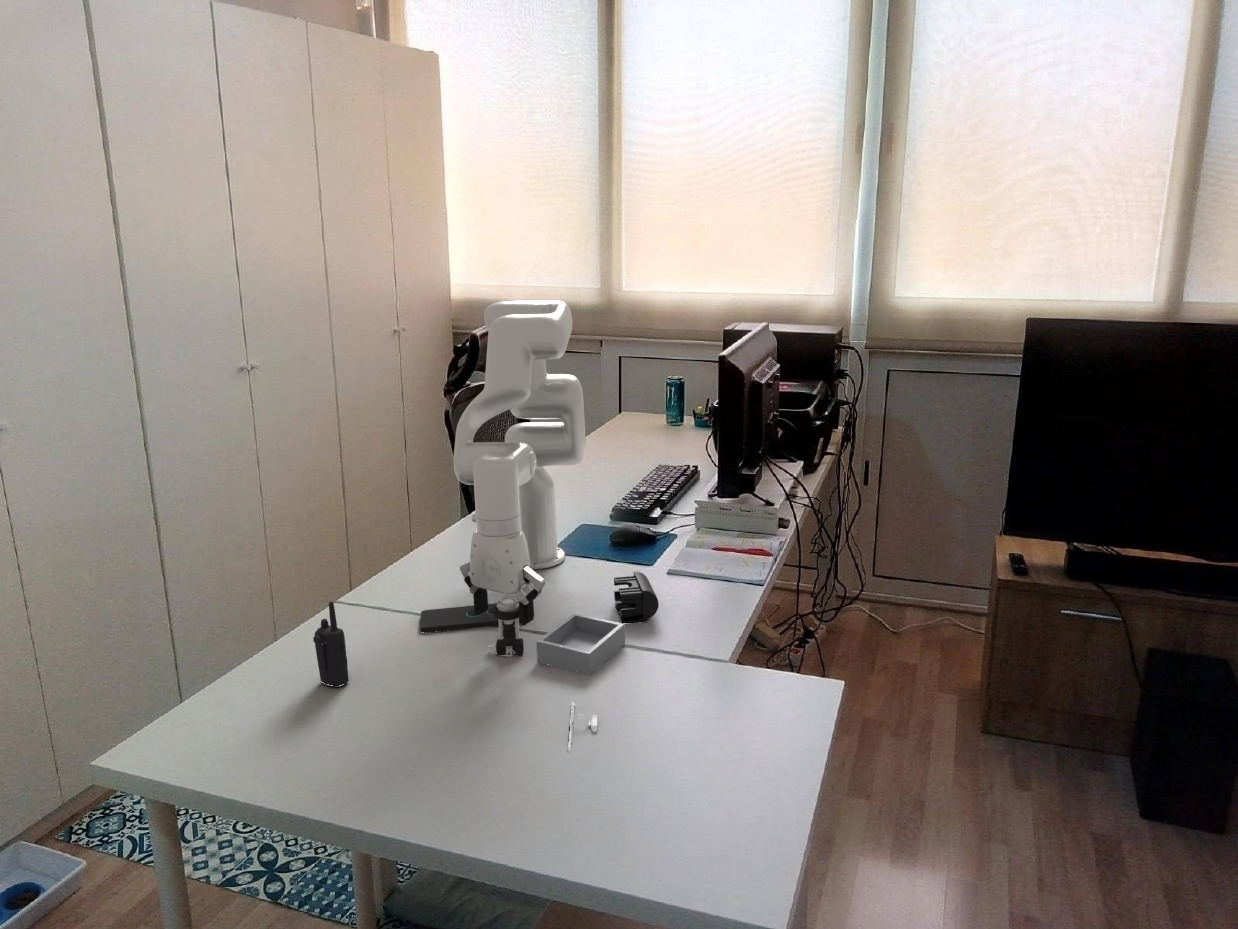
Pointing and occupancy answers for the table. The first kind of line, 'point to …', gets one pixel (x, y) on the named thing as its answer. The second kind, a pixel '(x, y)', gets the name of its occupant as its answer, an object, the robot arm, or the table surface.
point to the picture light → (592, 723)
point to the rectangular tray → (581, 643)
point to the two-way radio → (331, 651)
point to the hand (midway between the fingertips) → (504, 617)
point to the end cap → (635, 598)
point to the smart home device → (457, 619)
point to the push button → (508, 628)
